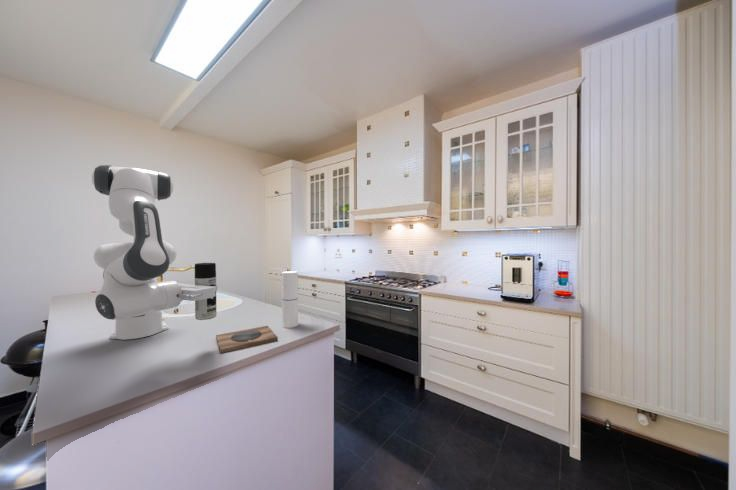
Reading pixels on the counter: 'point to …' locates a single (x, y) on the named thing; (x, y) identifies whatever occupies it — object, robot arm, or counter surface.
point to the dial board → (245, 338)
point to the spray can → (205, 277)
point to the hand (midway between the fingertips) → (208, 287)
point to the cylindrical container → (289, 299)
